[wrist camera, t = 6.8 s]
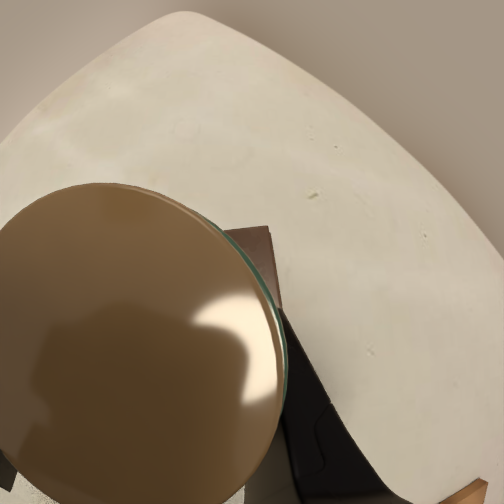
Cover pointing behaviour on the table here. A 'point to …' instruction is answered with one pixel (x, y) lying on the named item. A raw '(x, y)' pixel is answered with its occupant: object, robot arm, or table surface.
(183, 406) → the jar
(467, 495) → the trivet
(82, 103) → the table surface
